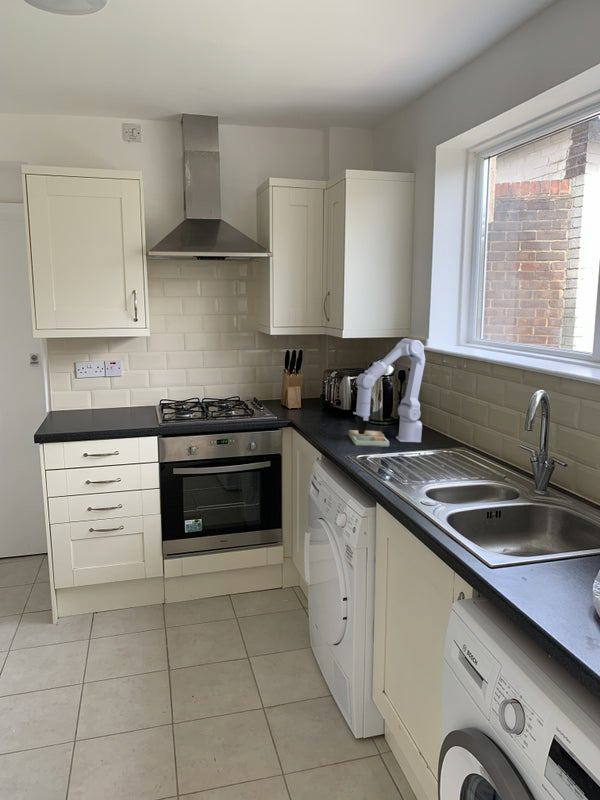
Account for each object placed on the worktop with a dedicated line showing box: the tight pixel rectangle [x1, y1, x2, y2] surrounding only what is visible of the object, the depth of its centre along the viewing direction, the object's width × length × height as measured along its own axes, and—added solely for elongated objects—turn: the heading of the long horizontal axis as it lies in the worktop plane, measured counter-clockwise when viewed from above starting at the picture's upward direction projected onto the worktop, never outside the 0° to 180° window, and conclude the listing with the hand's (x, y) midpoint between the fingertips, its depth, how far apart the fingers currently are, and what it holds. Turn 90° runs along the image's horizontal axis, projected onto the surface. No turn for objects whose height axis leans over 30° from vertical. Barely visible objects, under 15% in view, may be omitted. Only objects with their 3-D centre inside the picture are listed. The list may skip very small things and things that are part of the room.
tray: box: [351, 436, 390, 447], centre depth 255 cm, size 14×9×2 cm, turn 95°
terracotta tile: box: [372, 436, 384, 441], centre depth 256 cm, size 4×4×2 cm
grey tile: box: [357, 437, 369, 441], centre depth 253 cm, size 4×4×2 cm
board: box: [348, 429, 385, 441], centre depth 264 cm, size 14×8×2 cm, turn 95°
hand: (361, 434), depth 257 cm, fingers closed
